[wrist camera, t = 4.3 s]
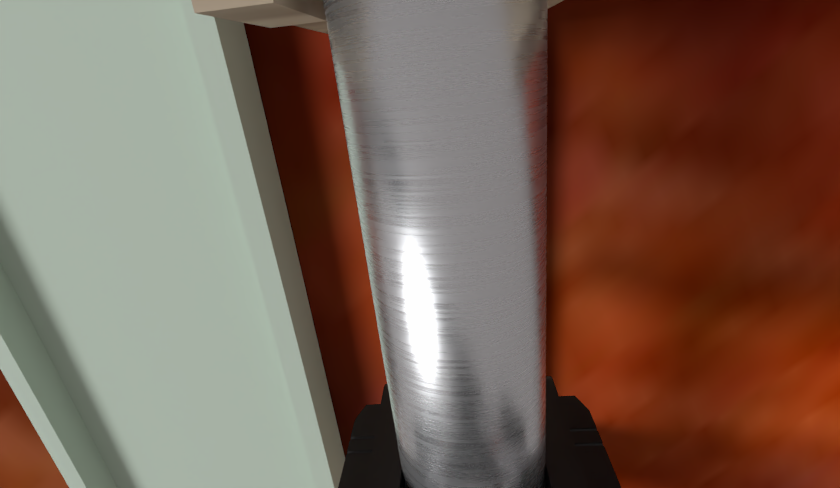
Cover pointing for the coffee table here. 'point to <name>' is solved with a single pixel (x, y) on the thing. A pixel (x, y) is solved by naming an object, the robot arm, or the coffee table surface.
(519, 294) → the steel rod
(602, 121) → the coffee table surface
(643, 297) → the coffee table surface
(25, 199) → the mat tray
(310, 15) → the rack
